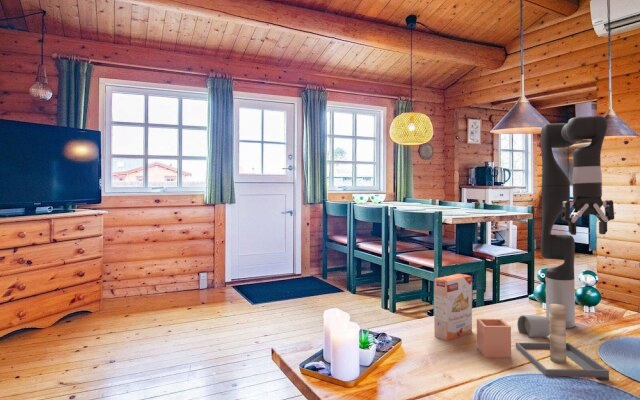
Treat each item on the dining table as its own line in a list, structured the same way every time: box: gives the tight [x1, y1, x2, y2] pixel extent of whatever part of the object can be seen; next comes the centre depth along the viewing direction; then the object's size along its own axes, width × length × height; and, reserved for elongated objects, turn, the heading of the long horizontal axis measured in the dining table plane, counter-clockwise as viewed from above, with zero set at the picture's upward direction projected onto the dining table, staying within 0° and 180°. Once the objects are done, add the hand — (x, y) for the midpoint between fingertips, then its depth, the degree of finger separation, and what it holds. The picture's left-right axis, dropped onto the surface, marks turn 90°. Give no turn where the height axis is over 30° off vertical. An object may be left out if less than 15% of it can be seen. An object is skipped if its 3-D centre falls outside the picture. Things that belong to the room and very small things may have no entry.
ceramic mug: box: [516, 314, 550, 339], centre depth 142 cm, size 11×8×8 cm
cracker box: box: [433, 273, 473, 342], centre depth 142 cm, size 14×6×21 cm, turn 126°
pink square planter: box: [476, 318, 512, 358], centre depth 126 cm, size 8×8×10 cm
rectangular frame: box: [515, 342, 610, 381], centre depth 118 cm, size 20×16×2 cm
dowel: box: [549, 304, 567, 365], centre depth 118 cm, size 4×4×16 cm
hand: (587, 234), depth 127 cm, fingers open, 8 cm apart
